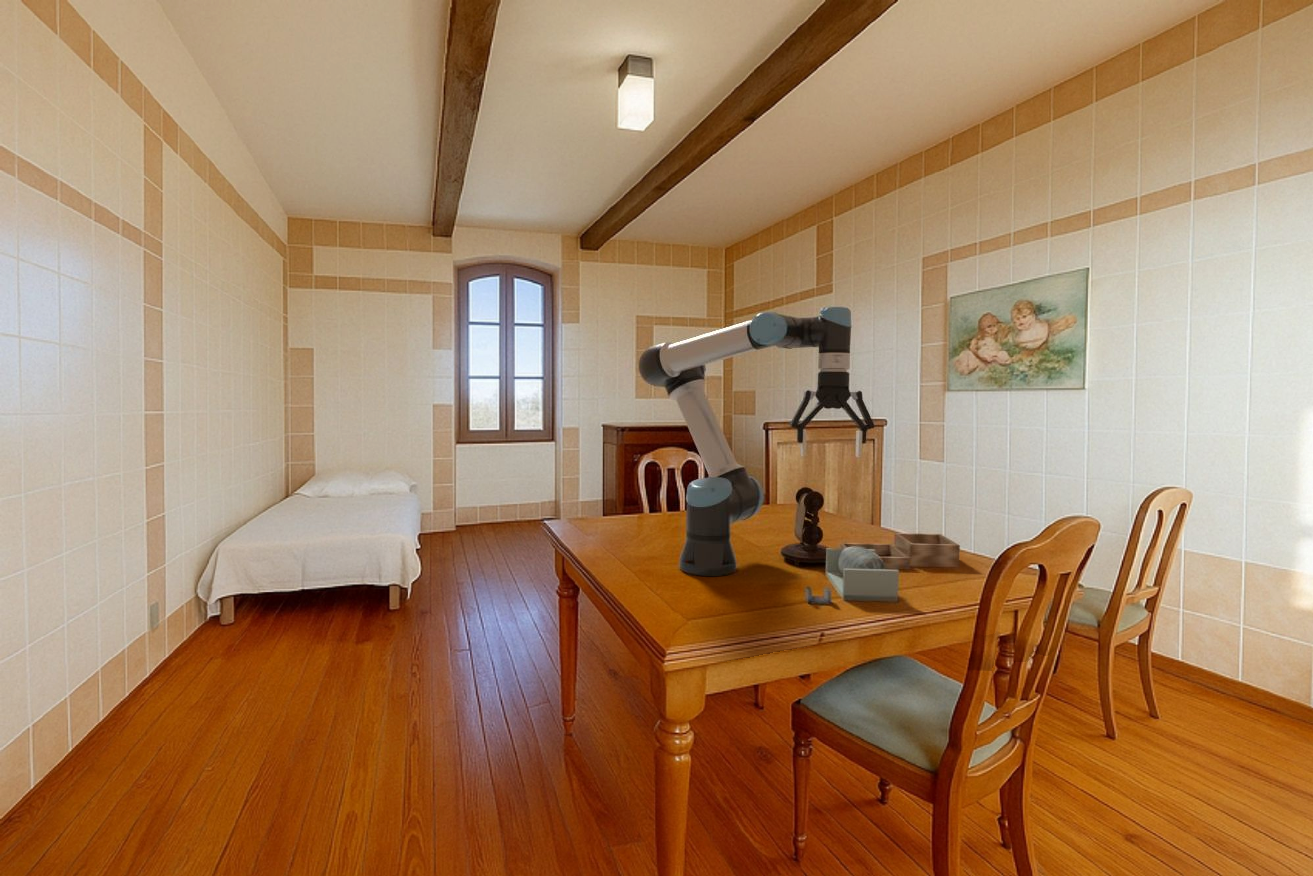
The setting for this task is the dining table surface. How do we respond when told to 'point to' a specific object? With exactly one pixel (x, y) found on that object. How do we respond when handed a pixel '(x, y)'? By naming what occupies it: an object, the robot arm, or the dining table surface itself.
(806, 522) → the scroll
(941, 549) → the frame
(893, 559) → the frame
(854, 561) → the grey oval rock
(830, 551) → the holder
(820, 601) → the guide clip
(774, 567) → the dining table surface
